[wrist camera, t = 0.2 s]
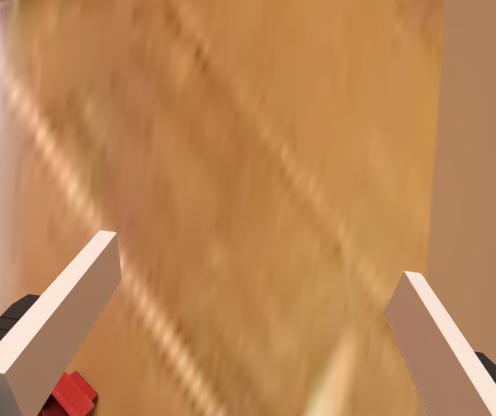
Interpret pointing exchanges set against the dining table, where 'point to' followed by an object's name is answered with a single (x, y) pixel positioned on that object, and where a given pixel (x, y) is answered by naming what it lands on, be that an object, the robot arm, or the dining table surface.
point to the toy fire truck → (69, 397)
